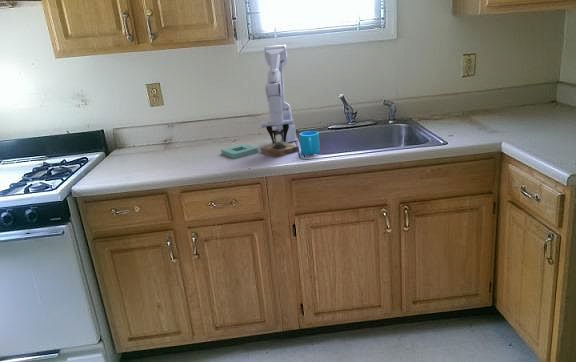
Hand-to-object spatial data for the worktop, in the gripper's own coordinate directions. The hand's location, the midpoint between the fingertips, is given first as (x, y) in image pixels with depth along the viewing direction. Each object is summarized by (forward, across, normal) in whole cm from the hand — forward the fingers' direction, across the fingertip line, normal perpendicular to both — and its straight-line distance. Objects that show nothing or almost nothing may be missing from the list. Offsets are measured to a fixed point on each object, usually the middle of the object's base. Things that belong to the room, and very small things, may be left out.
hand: (279, 142), depth 197 cm
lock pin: (+3, 0, 0) cm, 3 cm away
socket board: (+4, -18, +5) cm, 19 cm away
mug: (+4, +13, -8) cm, 15 cm away
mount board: (+4, 0, 0) cm, 4 cm away
